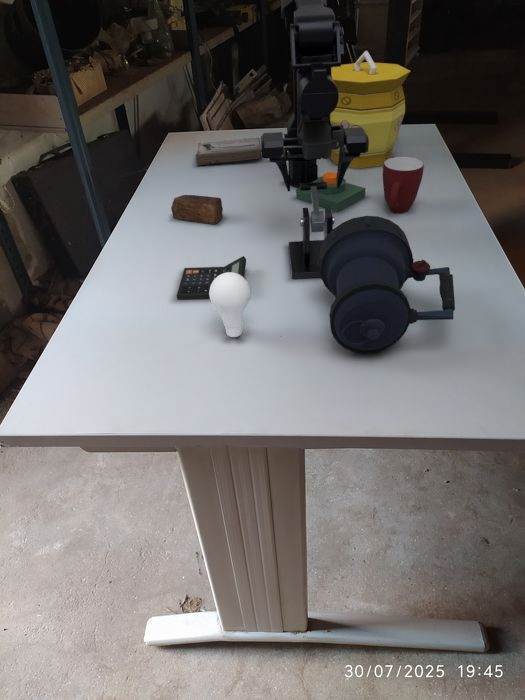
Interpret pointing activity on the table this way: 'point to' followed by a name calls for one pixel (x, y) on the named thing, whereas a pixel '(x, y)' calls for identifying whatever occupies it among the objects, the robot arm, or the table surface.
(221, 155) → the box
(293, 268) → the bracket
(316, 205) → the lever
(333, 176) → the button
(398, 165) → the mug
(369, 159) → the container
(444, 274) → the flashlight
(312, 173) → the robot arm
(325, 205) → the button block
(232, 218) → the table surface
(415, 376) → the table surface
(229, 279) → the lightbulb
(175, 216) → the brick
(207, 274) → the calculator
